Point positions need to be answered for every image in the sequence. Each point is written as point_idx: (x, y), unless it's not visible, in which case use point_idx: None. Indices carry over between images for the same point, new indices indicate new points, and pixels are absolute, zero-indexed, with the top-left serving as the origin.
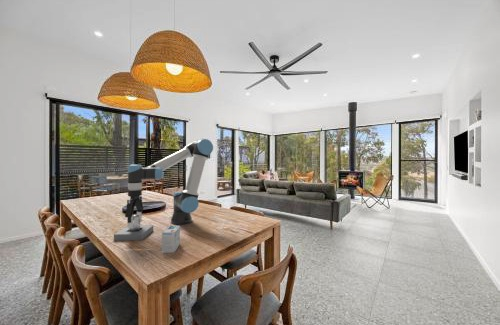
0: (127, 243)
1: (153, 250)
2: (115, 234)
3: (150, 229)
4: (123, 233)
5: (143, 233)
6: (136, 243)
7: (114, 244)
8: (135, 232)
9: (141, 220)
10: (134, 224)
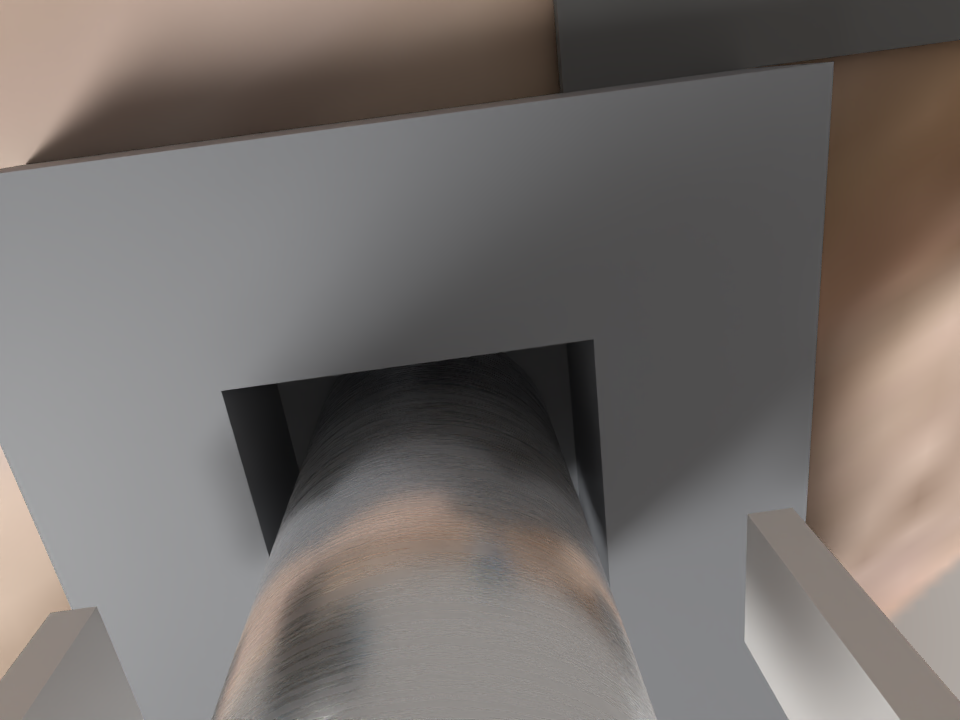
0: (861, 325)
1: None
2: None
3: (175, 147)
4: (741, 602)
5: (733, 75)
6: (887, 121)
7: (880, 526)
8: (677, 363)
9: (21, 656)
10: (605, 592)
